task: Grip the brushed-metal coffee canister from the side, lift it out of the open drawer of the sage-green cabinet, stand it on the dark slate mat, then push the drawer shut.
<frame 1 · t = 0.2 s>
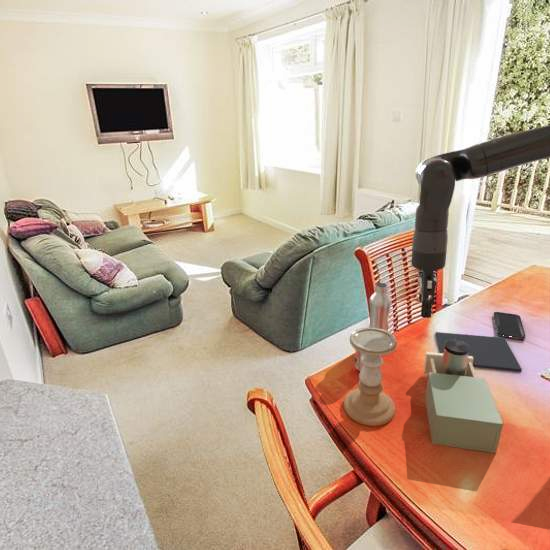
hand: (424, 309, 93), 22 cm above the table, tool pointing down, fingers open, 8 cm apart
candle holder: (368, 408, 93), on the table
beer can: (363, 368, 107), on the table
cabinet: (457, 423, 87), on the table
drawer: (451, 378, 95), point 4 cm above the table, slide at 9.0 cm, touching canister
canister: (450, 385, 96), point 2 cm above the table, touching drawer
phone: (507, 327, 123), on the table
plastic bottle: (377, 342, 119), on the table
mat: (474, 351, 112), on the table
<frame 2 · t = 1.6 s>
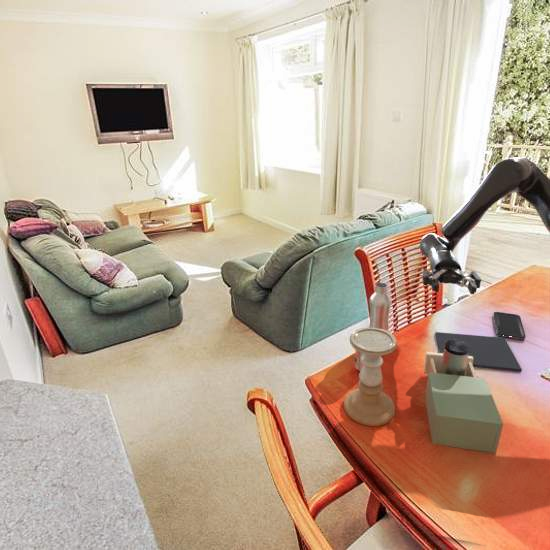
hand: (455, 290, 96), 24 cm above the table, tool horizontal, fingers open, 8 cm apart
nothing on the table moved.
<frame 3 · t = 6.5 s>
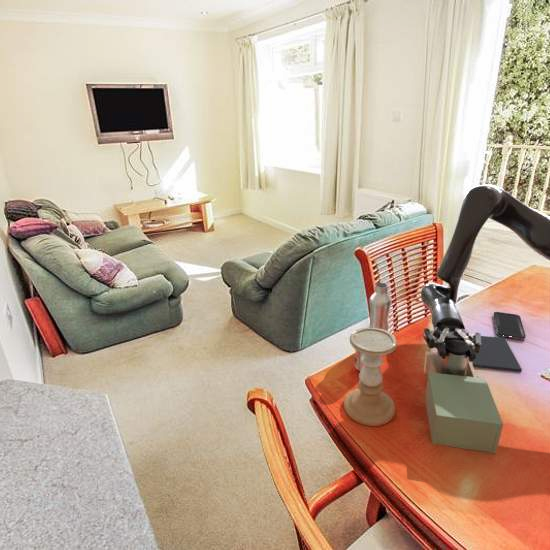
hand: (458, 356, 89), 13 cm above the table, tool horizontal, fingers closed on canister, 5 cm apart
canister: (450, 385, 96), point 2 cm above the table, touching drawer, gripper
everything else where it was.
when the fingers open (11 cm above the table, at t = 14.9 s): canister stays where it is, resting on mat.
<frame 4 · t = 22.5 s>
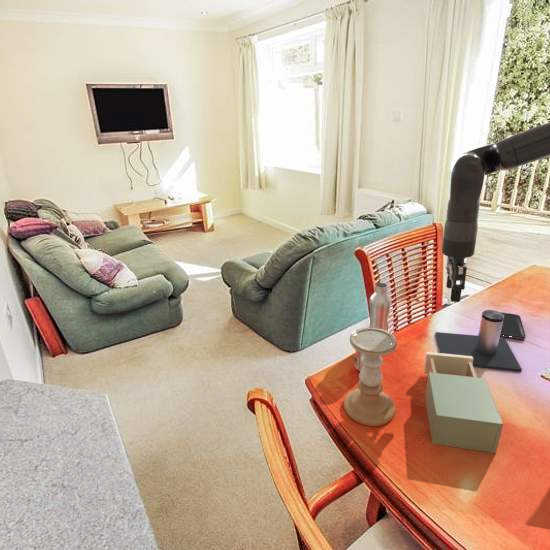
hand: (452, 294, 100), 21 cm above the table, tool pointing down, fingers open, 8 cm apart
drawer: (451, 378, 95), point 4 cm above the table, slide at 9.0 cm
canister: (486, 349, 111), point 1 cm above the table, touching mat
everything else where it was.
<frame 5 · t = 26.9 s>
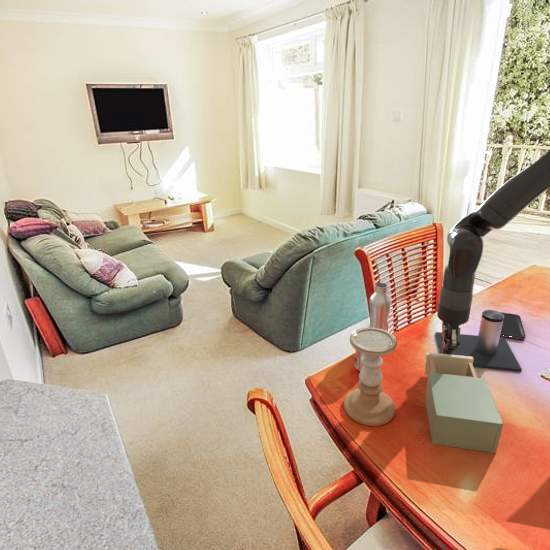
hand: (446, 358, 103), 4 cm above the table, tool pointing down, fingers closed
drawer: (451, 378, 95), point 4 cm above the table, slide at 8.8 cm, touching gripper
everything else where it was.
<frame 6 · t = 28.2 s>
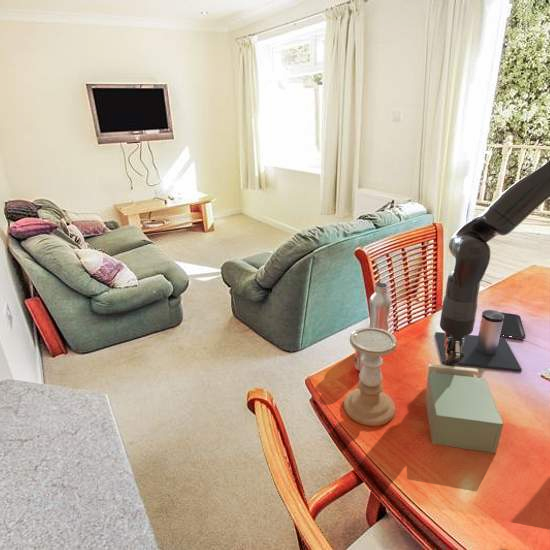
hand: (449, 370, 98), 4 cm above the table, tool pointing down, fingers closed
drawer: (455, 392, 90), point 4 cm above the table, slide at 3.6 cm, touching gripper
everything else where it was.
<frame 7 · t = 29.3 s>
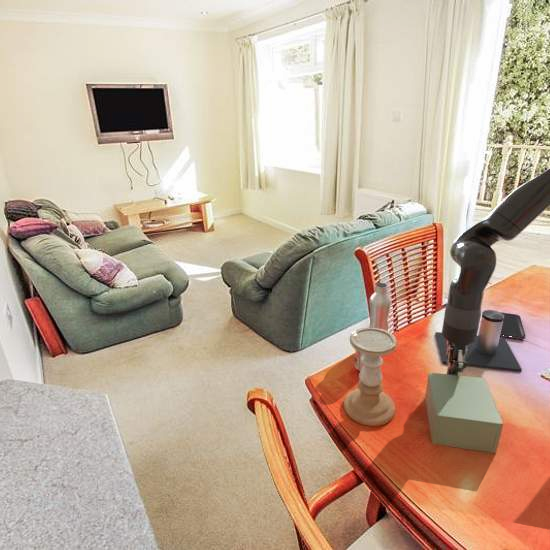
hand: (451, 378, 95), 4 cm above the table, tool pointing down, fingers closed
drawer: (457, 402, 87), point 4 cm above the table, slide at 0.0 cm, touching cabinet, gripper
everything else where it was.
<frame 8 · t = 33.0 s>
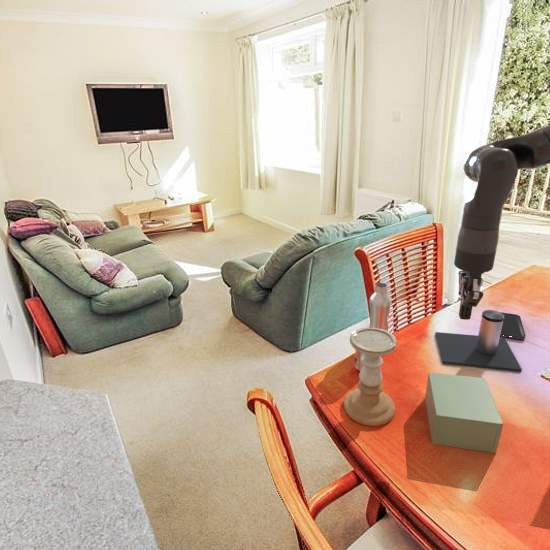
hand: (464, 317, 86), 23 cm above the table, tool pointing down, fingers closed
drawer: (457, 402, 87), point 4 cm above the table, slide at 0.0 cm, touching cabinet
everything else where it was.
at the end: canister inside the target area on the mat (3.0 cm from its centre), point 0.8 cm above the mat's base; canister tilted 0°; drawer slide at 0.0 cm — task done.
